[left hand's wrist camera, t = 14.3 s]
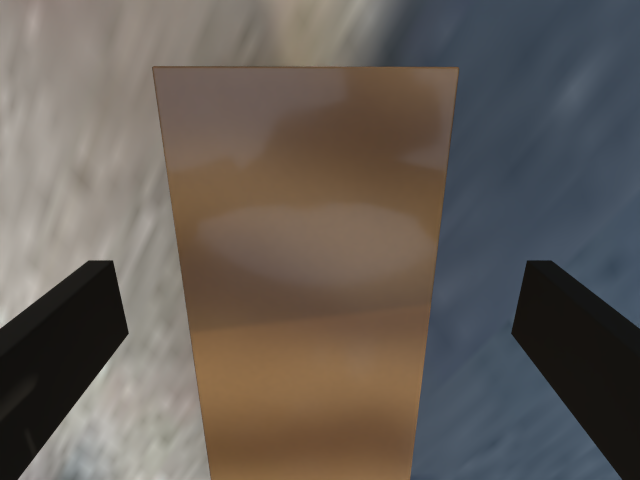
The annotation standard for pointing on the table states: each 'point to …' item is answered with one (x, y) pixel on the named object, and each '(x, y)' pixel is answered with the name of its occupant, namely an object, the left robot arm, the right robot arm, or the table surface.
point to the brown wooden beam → (307, 258)
